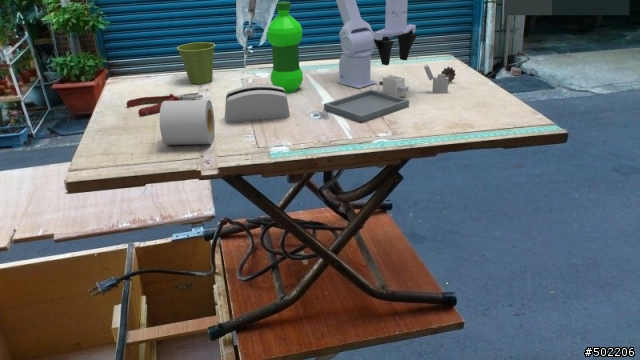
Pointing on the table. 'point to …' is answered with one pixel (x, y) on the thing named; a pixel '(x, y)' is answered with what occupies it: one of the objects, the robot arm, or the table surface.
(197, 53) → the plant pot
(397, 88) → the plug
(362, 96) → the tray
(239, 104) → the grey napkin holder
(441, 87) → the lighter
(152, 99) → the pliers
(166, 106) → the toilet paper
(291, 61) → the plastic bottle
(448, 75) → the gear
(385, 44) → the robot arm
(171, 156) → the table surface
